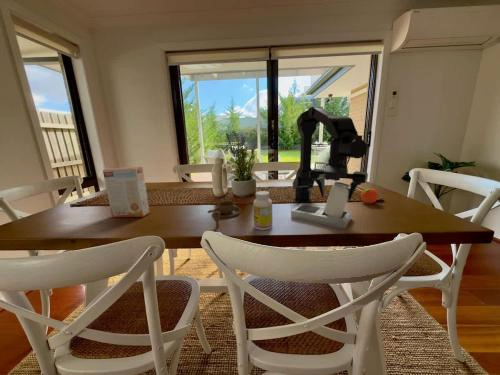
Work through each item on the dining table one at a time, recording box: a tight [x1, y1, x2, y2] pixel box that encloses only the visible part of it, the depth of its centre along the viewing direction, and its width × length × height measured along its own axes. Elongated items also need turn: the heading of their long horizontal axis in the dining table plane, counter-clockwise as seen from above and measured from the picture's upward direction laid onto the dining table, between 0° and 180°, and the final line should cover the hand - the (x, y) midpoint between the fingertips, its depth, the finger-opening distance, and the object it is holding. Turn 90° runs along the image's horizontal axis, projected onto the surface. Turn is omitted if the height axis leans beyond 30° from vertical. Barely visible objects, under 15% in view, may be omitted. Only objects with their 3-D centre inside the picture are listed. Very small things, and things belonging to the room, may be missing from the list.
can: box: [324, 181, 351, 218], centre depth 79 cm, size 6×6×12 cm
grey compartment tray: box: [290, 202, 353, 230], centre depth 84 cm, size 20×10×3 cm, turn 55°
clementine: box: [360, 187, 379, 205], centre depth 98 cm, size 8×7×7 cm
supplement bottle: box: [252, 190, 273, 231], centre depth 77 cm, size 7×7×13 cm
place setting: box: [207, 200, 241, 229], centre depth 90 cm, size 18×20×6 cm
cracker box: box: [102, 166, 150, 218], centre depth 93 cm, size 14×6×21 cm, turn 86°
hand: (335, 198), depth 79 cm, fingers open, 9 cm apart
